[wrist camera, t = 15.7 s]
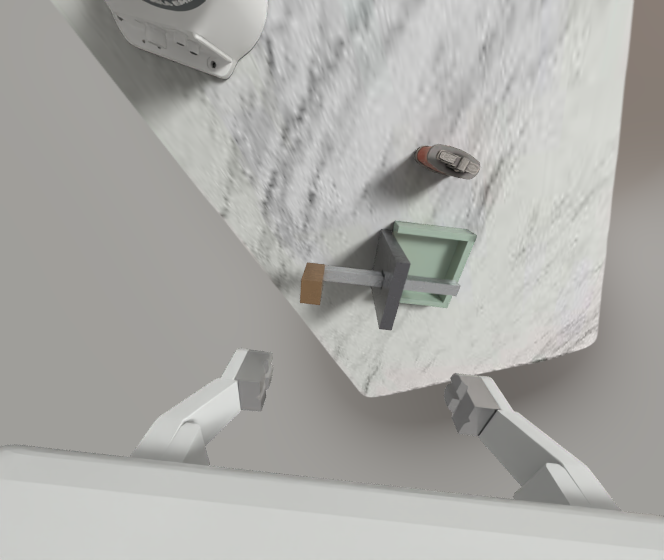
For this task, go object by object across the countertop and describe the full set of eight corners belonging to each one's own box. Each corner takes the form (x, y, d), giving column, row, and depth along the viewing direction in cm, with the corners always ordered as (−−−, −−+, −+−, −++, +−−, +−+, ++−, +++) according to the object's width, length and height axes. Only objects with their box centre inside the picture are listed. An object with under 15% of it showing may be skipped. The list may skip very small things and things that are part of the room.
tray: (378, 290, 54) (380, 300, 50) (394, 220, 46) (399, 226, 42) (440, 297, 54) (447, 308, 50) (467, 229, 46) (477, 235, 43)
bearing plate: (370, 281, 53) (379, 328, 39) (381, 229, 47) (396, 262, 33) (379, 282, 53) (391, 330, 39) (391, 230, 47) (410, 263, 33)
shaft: (307, 278, 43) (300, 302, 36) (308, 257, 41) (301, 279, 34) (449, 294, 43) (470, 322, 36) (457, 275, 41) (480, 300, 34)
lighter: (462, 159, 41) (495, 161, 32) (451, 179, 42) (479, 186, 33) (420, 141, 40) (442, 137, 31) (410, 162, 41) (428, 164, 32)
